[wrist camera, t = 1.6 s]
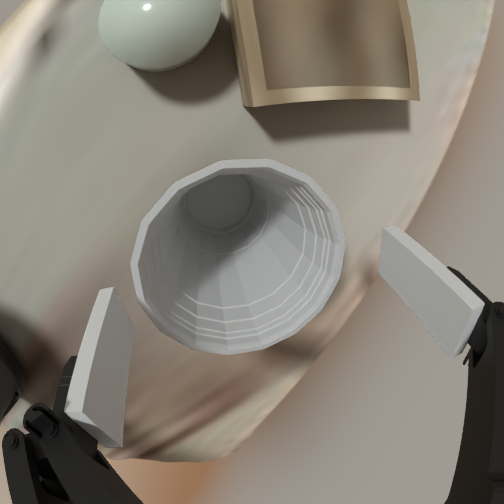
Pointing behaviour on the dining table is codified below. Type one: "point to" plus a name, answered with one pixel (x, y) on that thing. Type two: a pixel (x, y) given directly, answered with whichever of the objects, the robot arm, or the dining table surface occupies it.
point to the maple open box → (323, 50)
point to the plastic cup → (238, 256)
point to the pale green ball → (157, 31)
